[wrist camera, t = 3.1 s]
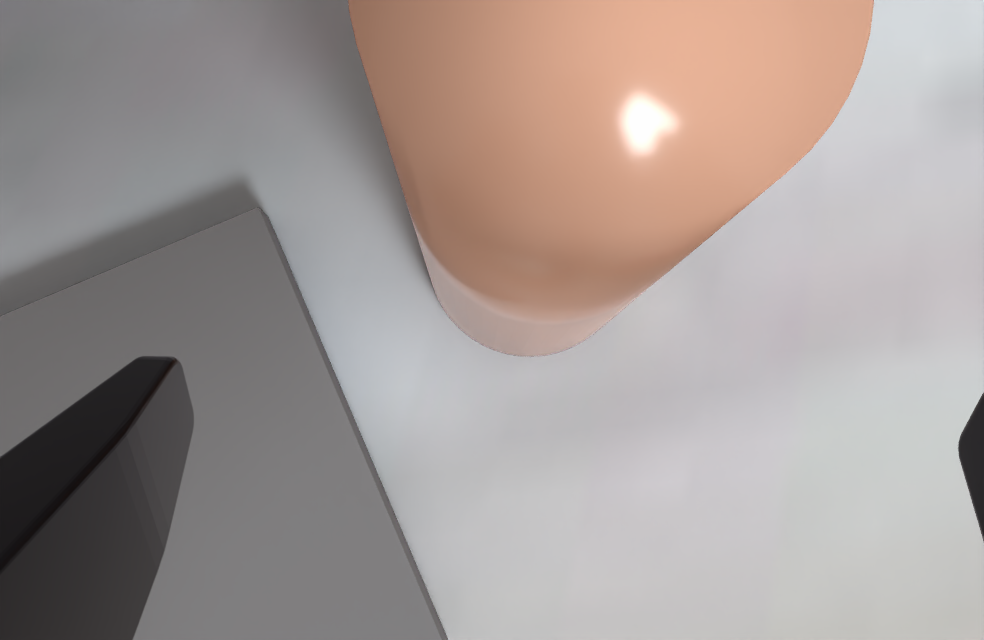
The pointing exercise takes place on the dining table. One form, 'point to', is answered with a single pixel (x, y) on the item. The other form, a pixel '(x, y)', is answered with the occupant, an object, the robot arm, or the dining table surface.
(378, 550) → the mat
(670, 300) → the dining table surface
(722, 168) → the terracotta cylinder
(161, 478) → the robot arm
